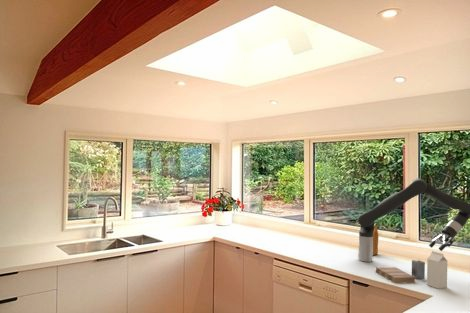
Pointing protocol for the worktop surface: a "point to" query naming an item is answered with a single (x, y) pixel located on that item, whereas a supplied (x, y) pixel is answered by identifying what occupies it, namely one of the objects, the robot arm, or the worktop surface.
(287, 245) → the worktop surface
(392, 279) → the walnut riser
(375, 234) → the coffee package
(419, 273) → the block
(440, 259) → the milk carton
